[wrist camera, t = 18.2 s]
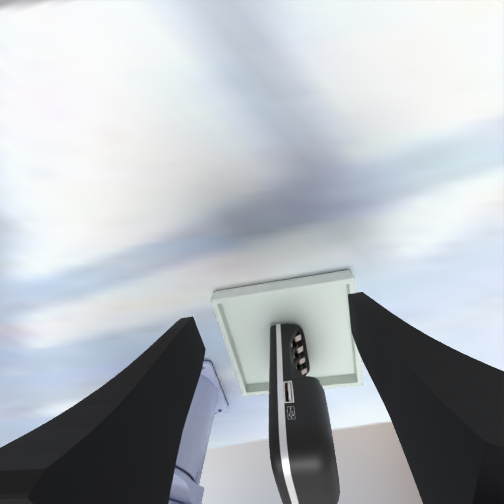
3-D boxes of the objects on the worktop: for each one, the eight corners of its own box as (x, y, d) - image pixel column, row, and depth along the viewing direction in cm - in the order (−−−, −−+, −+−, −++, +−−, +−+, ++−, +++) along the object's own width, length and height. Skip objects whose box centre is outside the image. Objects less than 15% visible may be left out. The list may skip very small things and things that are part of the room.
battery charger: (317, 370, 25) (349, 526, 15) (280, 373, 26) (287, 526, 15) (308, 316, 23) (340, 459, 12) (268, 321, 23) (266, 462, 13)
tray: (244, 383, 28) (243, 396, 26) (213, 291, 23) (210, 300, 22) (358, 372, 26) (363, 385, 24) (349, 269, 21) (355, 277, 20)
